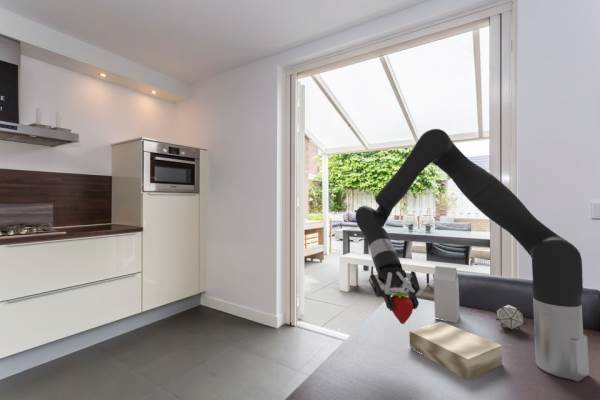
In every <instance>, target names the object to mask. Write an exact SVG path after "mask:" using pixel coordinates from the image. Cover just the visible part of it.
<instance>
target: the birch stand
mask: <svg viewBox="0 0 600 400" xmlns="http://www.w3.org/2000/svg"><path fill="white" fill-rule="evenodd" d="M408 335H409V348H410V347H411V348H413V349H415V350H416V351H418V352H420V353H422V354H423V355H422V354H421V355H422V356H424V355H425V356H427V357H428V358H427V357H426V358H427V359H429V358H430V359H429V360H431V359H432V360H431V361H433V362H434V361H435V362H434V363H436V364H439V365H440V366H442V367H444V368H445V369H447V370H449V371H451V372H453V373H455V374H457V375H458V376H459V377H462V378H464V380H467V381H470V380H473V379H474V378H477V377H478V376H479V377H480V376H481V375H483V374H486V373H488V372H489V371H492V370H494V369H496V368H498V367H500V366H503V353H502V352H503V348H502V346H503V345H502V344H500V343H496V342H494V341H492V340H489V339H487V338H484V337H481V336H479V335H477V334H474V333H471V332H468V331H466V330H464V329H461V328H459V327H456V326H453V325H451V324H448V323H445V321H439V322H435V323H432V324H428V325H425V326H422V327H421V326H420V327H419V328H414V329H411V330H409V333H408ZM411 348H410V349H411ZM413 349H412V350H413ZM416 351H415V352H416ZM418 352H417V353H418ZM420 353H419V354H420ZM425 356H424V357H425Z"/></svg>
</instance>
